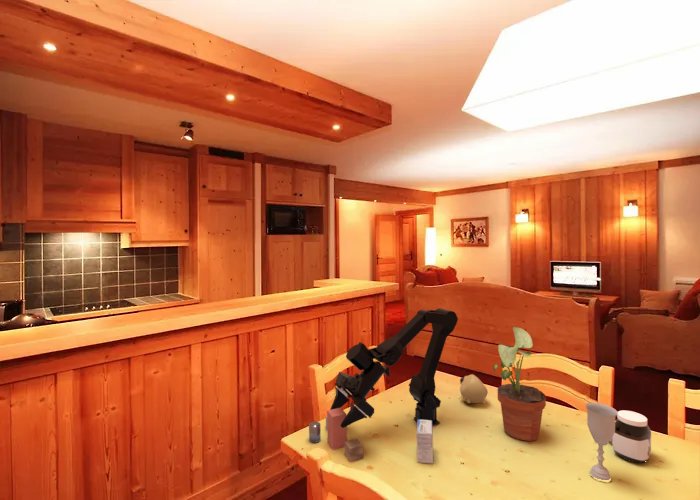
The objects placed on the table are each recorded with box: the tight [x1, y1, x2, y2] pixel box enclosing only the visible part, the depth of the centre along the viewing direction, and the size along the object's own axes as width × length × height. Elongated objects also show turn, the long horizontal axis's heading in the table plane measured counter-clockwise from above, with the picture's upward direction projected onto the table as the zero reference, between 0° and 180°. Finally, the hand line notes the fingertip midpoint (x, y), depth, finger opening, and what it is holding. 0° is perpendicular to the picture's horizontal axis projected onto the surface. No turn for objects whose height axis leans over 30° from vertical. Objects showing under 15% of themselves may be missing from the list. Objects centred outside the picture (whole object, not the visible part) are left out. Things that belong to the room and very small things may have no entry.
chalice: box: [584, 402, 618, 480], centre depth 95 cm, size 7×7×18 cm
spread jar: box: [609, 409, 652, 464], centre depth 106 cm, size 12×11×12 cm
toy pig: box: [459, 373, 489, 404], centre depth 140 cm, size 10×12×11 cm
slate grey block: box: [325, 416, 328, 432], centre depth 120 cm, size 4×4×4 cm
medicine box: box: [416, 420, 434, 464], centre depth 106 cm, size 8×4×9 cm, turn 168°
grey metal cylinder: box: [308, 421, 322, 444], centre depth 114 cm, size 4×4×5 cm
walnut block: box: [344, 438, 364, 463], centre depth 105 cm, size 4×4×4 cm
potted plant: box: [493, 326, 547, 442], centre depth 116 cm, size 16×15×35 cm
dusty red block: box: [326, 407, 348, 451], centre depth 112 cm, size 4×4×10 cm
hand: (335, 419), depth 112 cm, fingers open, 9 cm apart
